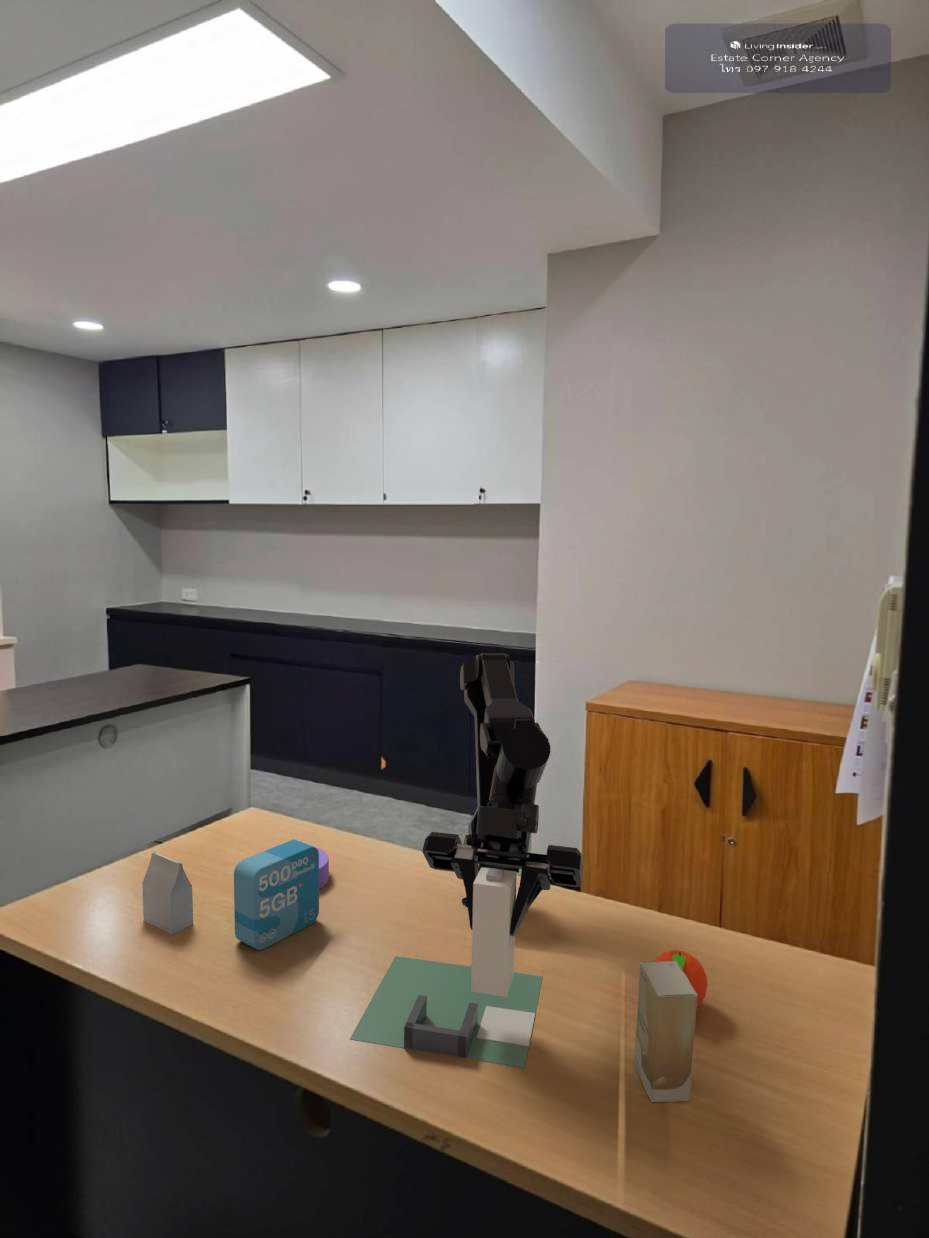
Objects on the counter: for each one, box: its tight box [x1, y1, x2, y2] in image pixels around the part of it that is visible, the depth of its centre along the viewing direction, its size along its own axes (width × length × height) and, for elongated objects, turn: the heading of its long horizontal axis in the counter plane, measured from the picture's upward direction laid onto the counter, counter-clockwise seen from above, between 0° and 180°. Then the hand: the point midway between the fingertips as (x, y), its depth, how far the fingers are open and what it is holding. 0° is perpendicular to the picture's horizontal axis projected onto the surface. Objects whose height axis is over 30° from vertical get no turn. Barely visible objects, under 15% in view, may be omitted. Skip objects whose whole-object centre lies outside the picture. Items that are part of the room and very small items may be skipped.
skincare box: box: [633, 961, 698, 1103], centre depth 82 cm, size 6×4×12 cm
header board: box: [349, 955, 543, 1069], centre depth 93 cm, size 18×20×4 cm
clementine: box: [653, 949, 708, 1007], centre depth 95 cm, size 8×7×7 cm
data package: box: [233, 839, 320, 951], centre depth 111 cm, size 12×4×12 cm, turn 143°
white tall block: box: [471, 867, 517, 997], centre depth 88 cm, size 4×4×14 cm
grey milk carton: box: [141, 851, 194, 935], centre depth 113 cm, size 4×7×10 cm, turn 55°
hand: (492, 932), depth 87 cm, fingers closed on white tall block, 4 cm apart
